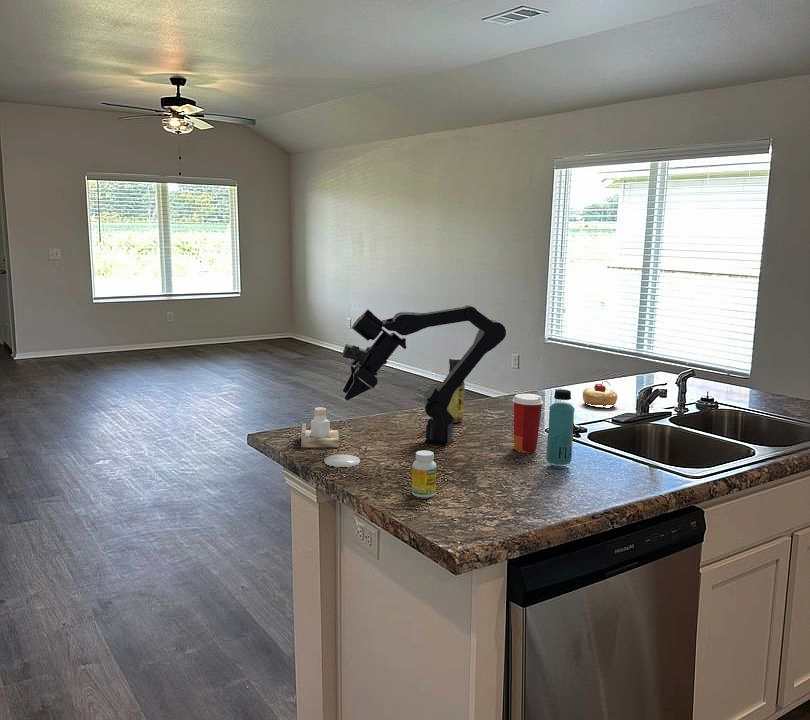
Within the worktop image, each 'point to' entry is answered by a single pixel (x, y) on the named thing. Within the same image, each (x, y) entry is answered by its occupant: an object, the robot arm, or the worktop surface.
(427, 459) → the supplement bottle
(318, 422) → the pepper shaker
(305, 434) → the square wooden frame
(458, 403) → the sauce bottle
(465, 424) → the worktop surface
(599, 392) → the pastry
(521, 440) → the coffee cup
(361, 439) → the worktop surface
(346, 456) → the coaster
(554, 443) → the beverage bottle
